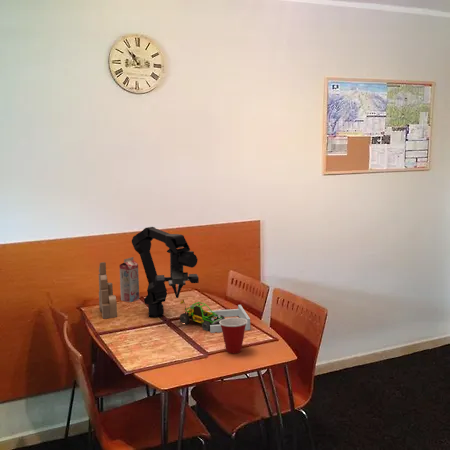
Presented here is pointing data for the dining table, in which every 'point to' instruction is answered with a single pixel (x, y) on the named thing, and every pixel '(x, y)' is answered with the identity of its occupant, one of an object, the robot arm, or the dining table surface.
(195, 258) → the robot arm
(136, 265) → the milk carton
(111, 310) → the wooden toy
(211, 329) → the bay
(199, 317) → the motor vehicle
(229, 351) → the plastic cup
